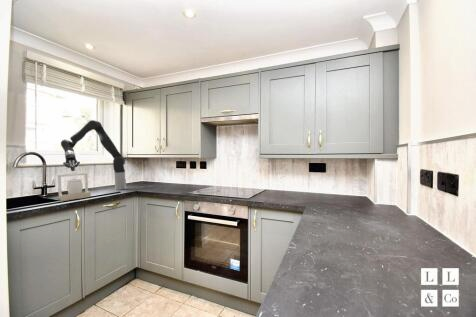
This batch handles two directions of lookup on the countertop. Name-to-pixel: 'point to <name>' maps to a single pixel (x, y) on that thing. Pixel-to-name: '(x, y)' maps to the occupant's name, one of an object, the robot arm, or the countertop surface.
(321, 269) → the countertop surface
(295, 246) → the countertop surface
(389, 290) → the countertop surface
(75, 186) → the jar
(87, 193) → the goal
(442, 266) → the countertop surface
